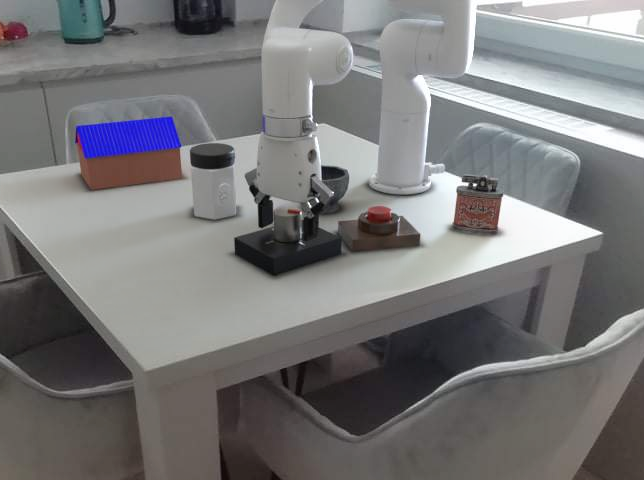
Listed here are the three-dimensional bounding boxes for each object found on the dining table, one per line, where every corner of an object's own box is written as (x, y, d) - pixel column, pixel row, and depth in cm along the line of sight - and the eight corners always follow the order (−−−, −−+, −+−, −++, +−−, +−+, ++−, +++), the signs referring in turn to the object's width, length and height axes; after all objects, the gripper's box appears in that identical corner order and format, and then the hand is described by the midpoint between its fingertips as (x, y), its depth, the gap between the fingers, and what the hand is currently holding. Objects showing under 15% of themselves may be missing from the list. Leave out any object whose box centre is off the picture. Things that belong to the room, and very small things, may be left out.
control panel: (300, 234, 133) (300, 217, 131) (341, 254, 126) (341, 236, 124) (234, 254, 126) (233, 236, 124) (273, 276, 118) (273, 257, 117)
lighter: (498, 229, 135) (506, 174, 130) (496, 236, 132) (505, 180, 127) (453, 224, 137) (459, 170, 132) (450, 230, 135) (457, 175, 129)
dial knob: (269, 240, 123) (269, 212, 121) (280, 230, 127) (280, 203, 124) (295, 244, 122) (295, 215, 119) (305, 234, 125) (306, 206, 123)
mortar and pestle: (336, 197, 150) (337, 136, 144) (356, 212, 143) (359, 149, 136) (283, 204, 147) (282, 142, 140) (301, 220, 139) (301, 156, 133)
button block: (401, 227, 136) (403, 205, 134) (419, 245, 129) (421, 223, 127) (337, 232, 134) (338, 211, 132) (352, 252, 126) (353, 229, 124)
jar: (204, 223, 138) (200, 158, 132) (184, 210, 144) (179, 147, 138) (246, 213, 142) (244, 150, 136) (225, 201, 148) (222, 140, 142)
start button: (386, 214, 131) (386, 205, 131) (393, 222, 128) (394, 213, 127) (364, 216, 131) (364, 206, 130) (371, 224, 127) (372, 214, 126)
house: (184, 178, 161) (179, 122, 155) (89, 190, 154) (81, 133, 148) (169, 163, 170) (164, 110, 164) (79, 174, 163) (71, 119, 157)
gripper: (348, 129, 113) (344, 237, 122) (259, 112, 122) (261, 214, 131) (318, 140, 108) (316, 252, 117) (228, 121, 117) (233, 226, 126)
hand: (287, 231), depth 124 cm, fingers open, 8 cm apart
